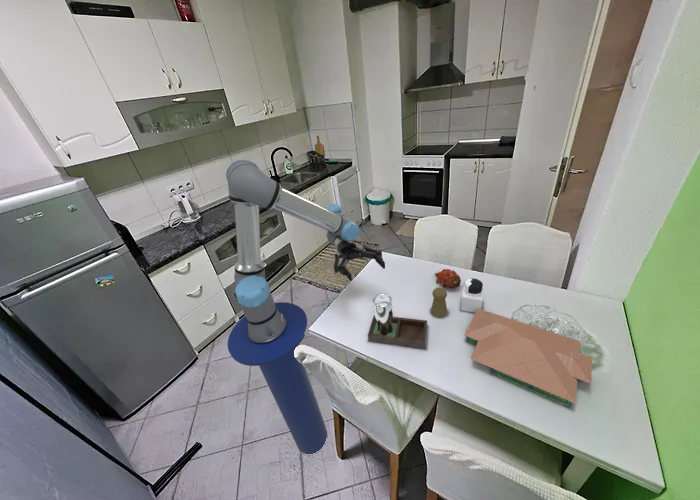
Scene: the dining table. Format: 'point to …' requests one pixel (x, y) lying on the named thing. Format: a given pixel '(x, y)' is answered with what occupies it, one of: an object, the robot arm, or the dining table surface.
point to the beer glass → (383, 314)
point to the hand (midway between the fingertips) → (367, 271)
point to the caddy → (402, 333)
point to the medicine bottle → (472, 295)
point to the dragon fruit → (448, 278)
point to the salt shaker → (439, 303)
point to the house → (529, 354)
